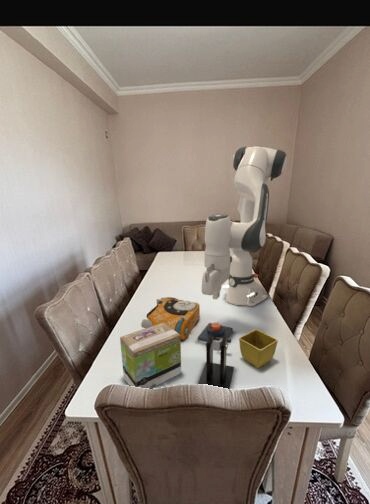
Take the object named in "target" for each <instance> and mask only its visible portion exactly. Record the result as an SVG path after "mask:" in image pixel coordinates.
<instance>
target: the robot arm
mask: <svg viewBox="0 0 370 504" xmlns="http://www.w3.org/2000/svg"><path fill="white" fill-rule="evenodd" d="M287 164H288V158H287V153H286V151H284V150H281V149H274V148H270V147H263V146H258V145H257V146H249V147H248V146H241V147H238V148H237V149H236V151H235V153H234V154H233V157H232V167H233V169H234V171H235V175H234V179H233V186H234V187H233V188H234V190H235V191H236V192H237V193H238V195H240V196H239V197H240V198H239V201H238V204H237V212H238V213H239V217H240V221H239V222H237V221H232V220H231V218H230V215H229V214H227V213H214V214H210V215H209V216H208V217H207V218H206V221H205V227H204V243H205V249H204V263H203V265H204V267H205V268H206V270H205V271H204V272H203V273H202V278H201V293H202V295H204V296H205V295H206V296H212V300H218V298H220V296H221V289H222V288H227V292H226V295H225V301H226V302H227V303H228V304H231V305H235V306H249V307H255V306H256V305H258V304H259V303H261V302H263V301H265V300H266V299H268V295H267V294H265V292H264V289H263V286H262V284H260V283H259V282H257V281H255V279H257V278H259V275H258V273H253V266H254V265H253V263H254V260H253V257H252V255H251V254H254V253H257V252H259V251H260V250H261V249H263V248H264V246H265V245H266V239H267V222H268V221H267V220H268V212H269V204H270V203H269V202H270V190H269V186H268V184H269V178H270V182H272V181H273V180H274V179H276V178H279V177H280V176H281V175H282V174H283V172H284V171H285V169H286V167H287ZM250 253H251V254H250ZM227 281H228V284H226V285H224V284H225V283H226V282H227Z"/></svg>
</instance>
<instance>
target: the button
mask: <svg viewBox="0 0 370 504" xmlns="http://www.w3.org/2000/svg"><path fill="white" fill-rule="evenodd" d="M211 323H212V324H211V330H213V331H219V330H220V329H221V325H222V324H221V323H219V322H211Z"/></svg>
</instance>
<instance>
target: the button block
mask: <svg viewBox="0 0 370 504" xmlns="http://www.w3.org/2000/svg"><path fill="white" fill-rule="evenodd" d="M212 323H213V322H208V324H207V325H206V326H205V328H204V329H202V331H201V332H200V334H198V336H197V340H198V341H201V342H205V343H206V342H207V340H208V338H209V336H210V335H213V341H214V340H216V337H219V338H223V337H227V339H229V338H230V336H231V335H232V334H233V332H234V328H233V327H231V326H226V325H222V324H220V325H221V329H220V330H219V331H213V330H211V324H212Z"/></svg>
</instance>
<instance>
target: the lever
mask: <svg viewBox="0 0 370 504" xmlns="http://www.w3.org/2000/svg"><path fill="white" fill-rule="evenodd" d="M222 340H223V338H219V337H216V340H214V341H212V350H213V351H217V352H221V343H222ZM231 343H232V339H231V338H228V339H227V344H231Z"/></svg>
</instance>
